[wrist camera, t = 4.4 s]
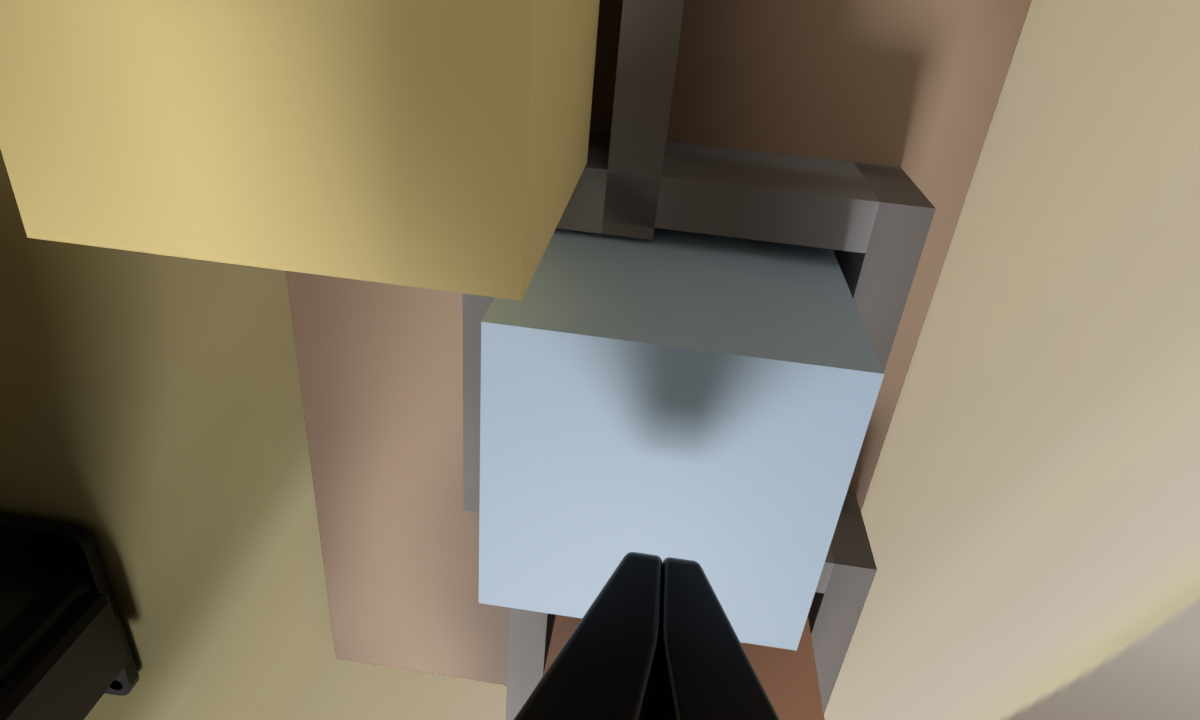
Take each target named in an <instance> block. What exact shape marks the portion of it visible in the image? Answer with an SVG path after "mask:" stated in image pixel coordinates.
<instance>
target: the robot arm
mask: <svg viewBox="0 0 1200 720" xmlns="http://www.w3.org/2000/svg"><path fill="white" fill-rule="evenodd" d="M138 680H139V675H138V671H137V668H136V665H135V662H134V659H133V656H132V653H131V650H130V647H129V644H128V641H127V638H126V635H125V632H124V629H123V626H122V622H121V619H120V616H119V613H118V610H117V607H116V604H115V601H114V598H113V595H112V592H111V589H110V586H109V583H108V580H107V577H106V573H105V570H104V567H103V564H102V561H101V558H100V555H99V552H98V549H97V546H96V543H95V540H94V538H93V536H92V535H91V534H90V533H89V532H88V531H87V530H86V529H85V528H83V527H81V526H79V525H76V524H73V523H67V522H60V521H53V520H47V519H40V518H33V517H27V516H20V515H13V514H6V513H0V720H84V718H85V717H86V716H87V715H88V713H89V712H90V711H91V709H92V708H93V707H94V706H95V704H96V703H97V702H98V700H99V699H100V698H101V697H102V695H103V694H104V693H107V694H114V695H127V694H129V692H130V691H131V690H132V688H133V687H134V686H135V684H136V683H137V682H138ZM514 720H780V718H779V716H778V715H777V713H776V711H775V709H774V707H773V705H772V703H771V701H770V699H769V697H768V695H767V693H766V691H765V689H764V687H763V685H762V683H761V682H760V680H759V678H758V676H757V674H756V672H755V670H754V668H753V666H752V664H751V662H750V660H749V658H748V656H747V654H746V652H745V650H744V649H743V647H742V645H741V643H740V641H739V639H738V637H737V635H736V633H735V631H734V629H733V627H732V625H731V623H730V621H729V619H728V617H727V616H726V614H725V612H724V610H723V608H722V606H721V604H720V602H719V600H718V598H717V596H716V594H715V592H714V590H713V588H712V586H711V584H710V583H709V581H708V579H707V577H706V575H705V573H704V571H703V569H702V567H701V566H700V564H699V563H698V562H696V561H692V560H686V559H679V558H672V557H667V558H665V559H664V560H663V563H662V559H661V558H660V557H659V556H657V555H651V554H644V553H637V552H629V553H627V554H626V555H625V556H624V558H623V559H622V561H621V562H620V563H619V565H618V566H617V568H616V569H615V571H614V572H613V574H612V575H611V577H610V578H609V580H608V581H607V583H606V584H605V586H604V587H603V589H602V590H601V591H600V593H599V594H598V596H597V597H596V599H595V600H594V602H593V603H592V605H591V606H590V608H589V609H588V611H587V612H586V614H585V615H584V617H583V618H582V620H581V621H580V622H579V624H578V625H577V627H576V628H575V630H574V631H573V633H572V634H571V636H570V637H569V639H568V640H567V642H566V643H565V645H564V646H563V648H562V649H561V650H560V652H559V653H558V655H557V656H556V658H555V659H554V661H553V662H552V664H551V665H550V667H549V668H548V670H547V671H546V673H545V674H544V676H543V677H542V678H541V680H540V681H539V683H538V684H537V686H536V687H535V689H534V690H533V692H532V693H531V695H530V696H529V698H528V699H527V701H526V702H525V704H524V705H523V707H522V708H521V709H520V711H519V712H518V714H517V715H516V717H515V718H514Z"/></svg>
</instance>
